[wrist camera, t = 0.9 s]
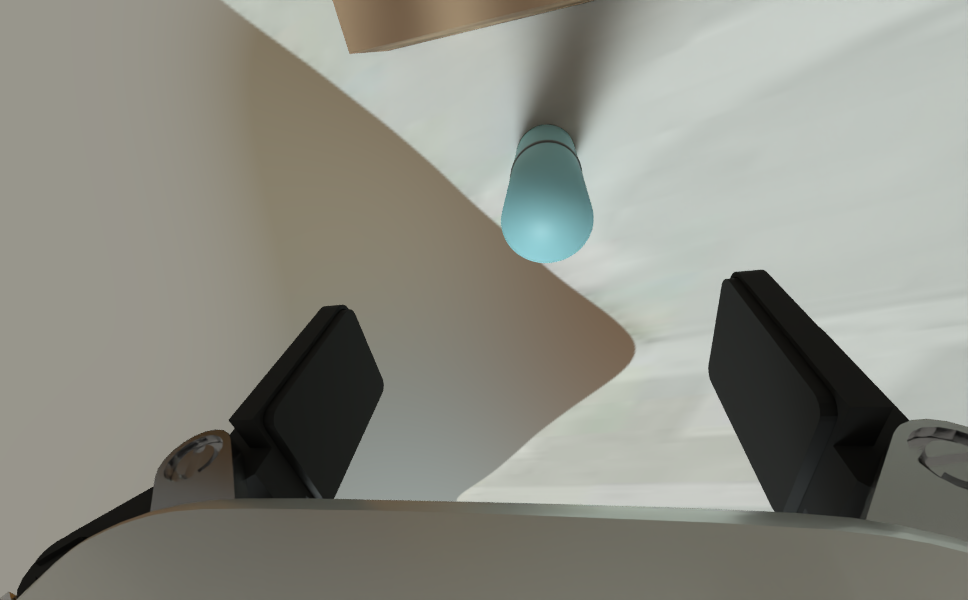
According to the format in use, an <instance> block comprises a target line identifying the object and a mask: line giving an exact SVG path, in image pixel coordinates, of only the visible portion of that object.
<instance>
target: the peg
mask: <svg viewBox="0 0 968 600" xmlns="http://www.w3.org/2000/svg"><path fill="white" fill-rule="evenodd" d="M501 226H502V231H503V234H504V237H505V239H506V241H507V243H508V244H509V246H510V247H511V248H512V249H513V250H514V251H515V252H516V253H517V254H519V255H520V256H522V257H524V258H526V259H528V260H531V261H534V262H540V263H552V262H557V261H561V260H564V259H566V258H568V257H570V256H572V255H573V254H575V253H576V252H577V251H578V250H579V249H581V248H582V246H583V245H584V244H585V243H586V241H587V240H588V238H589V236H590V234H591V231H592V227H593V209H592V206H591V202H590V199H589V195H588V192H587V189H586V185H585V182H584V178H583V175H582V168H581V165H580V161H579V159H578V157H577V154H576V151H575V147H574V144H573V141H572V139H571V137H570V136H569V135H568V133H567V132H566V131H564V130H563V129H562V128H560V127H558V126H554V125H540V126H537V127H534V128H533V129H531V130H529V131H528V132H527V133H526V134H525V135H524V136H523V137H522V139H521V141H520V143H519V145H518V148H517V152H516V156H515V160H514V163H513V166H512V169H511V174H510V181H509V186H508V190H507V194H506V198H505V202H504V207H503V211H502V216H501Z"/></svg>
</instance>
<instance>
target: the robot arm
mask: <svg viewBox="0 0 968 600" xmlns="http://www.w3.org/2000/svg"><path fill="white" fill-rule="evenodd" d="M708 370H709V377H710V380H711V383H712V385H713V387H714V389H715V391H716V393H717V395H718V397H719V399H720V401H721V403H722V405H723V407H724V410H725V412H726V414H727V416H728V418H729V420H730V422H731V424H732V426H733V428H734V430H735V432H736V434H737V436H738V438H739V441H740V443H741V445H742V447H743V449H744V451H745V453H746V455H747V457H748V459H749V461H750V463H751V465H752V467H753V469H754V471H755V474H756V476H757V478H758V480H759V482H760V484H761V486H762V488H763V490H764V492H765V494H766V496H767V498H768V500H769V502H770V505H771V506H772V508H773V510H774V511H775V512H765V511H744V510H722V509H700V508H669V507H636V506H603V505H570V504H533V503H495V502H452V501H451V502H449V501H412V500H411V501H410V500H360V499H359V500H357V499H334V497H335V495H336V493H337V491H338V488H339V486H340V484H341V482H342V480H343V478H344V476H345V473H346V471H347V469H348V467H349V464H350V462H351V460H352V458H353V456H354V454H355V451H356V449H357V447H358V445H359V443H360V441H361V438H362V436H363V434H364V432H365V430H366V427H367V425H368V423H369V421H370V419H371V417H372V414H373V412H374V410H375V408H376V406H377V403H378V401H379V399H380V397H381V394H382V392H383V386H384V384H383V379H382V377H381V374H380V372H379V370H378V367H377V365H376V362H375V360H374V358H373V355H372V353H371V351H370V348H369V346H368V344H367V341H366V339H365V336H364V334H363V332H362V329H361V327H360V325H359V322H358V320H357V318H356V315H355V313H354V312H353V311H352V310H350V309H348V308H347V307H346V306H345V305H335V306H325V307H322V308H321V309H320V310H319V311H318V313H317V314H316V315H315V316H314V318H313V319H312V320H311V321H310V322H309V323H308V325H307V326H306V327H305V328H304V330H303V331H302V332H301V333H300V334H299V336H298V337H297V338H296V339H295V341H294V342H293V343H292V344H291V345H290V346H289V348H288V349H287V350H286V351H285V352H284V354H283V355H282V356H281V357H280V358H279V360H278V361H277V362H276V363H275V365H274V366H273V367H272V368H271V369H270V371H269V372H268V373H267V374H266V375H265V377H264V378H263V379H262V380H261V382H260V383H259V384H258V385H257V386H256V388H255V389H254V390H253V391H252V393H251V394H250V395H249V396H248V397H247V398H246V400H245V401H244V402H243V403H242V404H241V406H240V407H239V408H238V409H237V410H236V412H235V413H234V414H233V415H232V417H231V418H230V419H229V421H230V423H231V424H232V425H233V426H234V428H235V429H234V430H233V432H232V433H231V434H230V435H229V433H227V432H226V431H224V430H210V431H206V432H203V433H201V434H198V435H196V436H194V437H192V438H190V439H189V440H187V441H185V442H183V443H182V444H181V445H180V446H179V447H177V448H176V449H174V450H173V451H172V452H171V453H170V454H169V455H168V456H167V457H166V458H165V459H164V461H163V462H162V464H161V465H160V467H159V468H158V470H157V473H156V476H155V481H154V487H152V488H150V489H148V490H147V491H145V492H143V493H141V494H139V495H138V496H136V497H134V498H132V499H131V500H129V501H127V502H125V503H124V504H122V505H120V506H118V507H116V508H115V509H113V510H111V511H109V512H108V513H106V514H104V515H102V516H101V517H99V518H97V519H95V520H93V521H92V522H90V523H88V524H86V525H85V526H83V527H81V528H79V529H78V530H76V531H74V532H72V533H71V534H69V535H68V536H66V537H64V538H62V539H61V540H59V541H57V542H56V543H54V544H53V545H51V546H50V547H49V548H48V549H47V550H45V551H44V552H43V553H42V555H40V557H39V558H38V559H37V560H36V562H35V563H34V564H33V565H32V567H31V568H30V569H29V571H28V572H27V573H26V575H25V576H24V577H23V579H22V581H21V583H20V585H19V588H18V590H17V595H15V594H13V593H11V592H8V593H6V594H5V595H4V596H2V597H1V598H0V600H968V427H966V426H963V425H959V424H955V423H951V422H948V421H941V420H933V419H919V420H910V421H909V420H908V419H907V418H906V416H905V415H904V414H903V413H902V412H901V411H900V410H899V409H898V408H897V407H896V406H895V405H894V404H893V403H892V402H891V401H890V400H889V399H888V398H887V397H886V396H885V394H884V393H883V392H882V391H881V390H880V389H879V388H878V387H877V386H876V385H875V384H874V383H873V382H872V381H871V380H870V379H869V378H868V377H867V376H866V375H865V374H864V372H863V371H862V370H861V369H860V368H859V367H858V366H857V365H856V364H855V363H854V362H853V361H852V360H851V359H850V358H849V357H848V356H847V355H846V354H845V353H844V351H843V350H842V349H841V348H840V347H839V346H838V345H837V344H836V343H835V342H834V341H833V340H832V339H831V338H830V337H829V336H828V335H827V334H826V333H825V332H824V331H823V330H822V329H821V328H820V327H818V326H817V324H816V323H815V322H814V321H813V320H812V319H811V318H810V317H809V316H808V315H807V314H806V313H805V312H804V311H803V310H802V309H801V308H800V307H799V306H798V304H797V303H796V302H795V301H794V300H793V299H792V298H791V297H790V296H789V295H788V294H787V293H786V292H785V291H784V290H783V289H782V288H781V287H780V286H779V284H778V283H777V282H776V281H775V280H774V279H773V278H772V277H771V276H770V275H769V274H768V273H767V272H766V271H764V270H753V271H741V272H734V273H733V274H732V276H731V278H730V279H725V280H724V281H723V283H722V287H721V293H720V299H719V305H718V311H717V317H716V324H715V330H714V336H713V342H712V348H711V354H710V360H709V367H708Z"/></svg>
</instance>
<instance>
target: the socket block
mask: <svg viewBox="0 0 968 600" xmlns="http://www.w3.org/2000/svg"><path fill="white" fill-rule="evenodd" d="M590 1H594V0H333V3H334V6H335V9H336V13H337V16H338V19H339V22H340V25H341V28H342V31H343V35H344V38H345V41H346V44H347V47H348V50H349V53H350V54H353V53H366V52H379V51H389V50H393V49H397V48H401V47H406V46H410V45H414V44H418V43H422V42H426V41H430V40H434V39H438V38H443V37H447V36H451V35H455V34H459V33H463V32H467V31H471V30H475V29H479V28H484V27H488V26H492V25H496V24H500V23H504V22H508V21H512V20H516V19H520V18H525V17H529V16H533V15H537V14H541V13H545V12H549V11H553V10H557V9H562V8H566V7H570V6H574V5H578V4H582V3H586V2H590Z"/></svg>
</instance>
